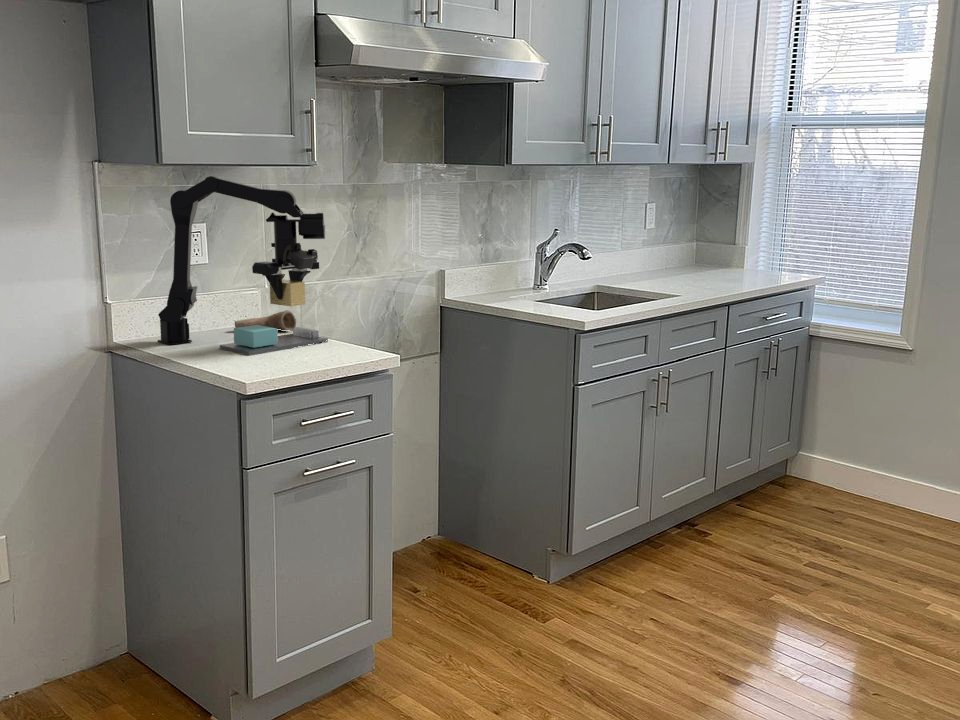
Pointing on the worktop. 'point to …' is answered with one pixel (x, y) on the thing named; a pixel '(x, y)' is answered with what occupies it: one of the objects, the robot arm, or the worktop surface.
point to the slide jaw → (255, 336)
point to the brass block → (289, 293)
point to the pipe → (271, 321)
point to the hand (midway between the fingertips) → (287, 298)
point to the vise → (280, 342)
